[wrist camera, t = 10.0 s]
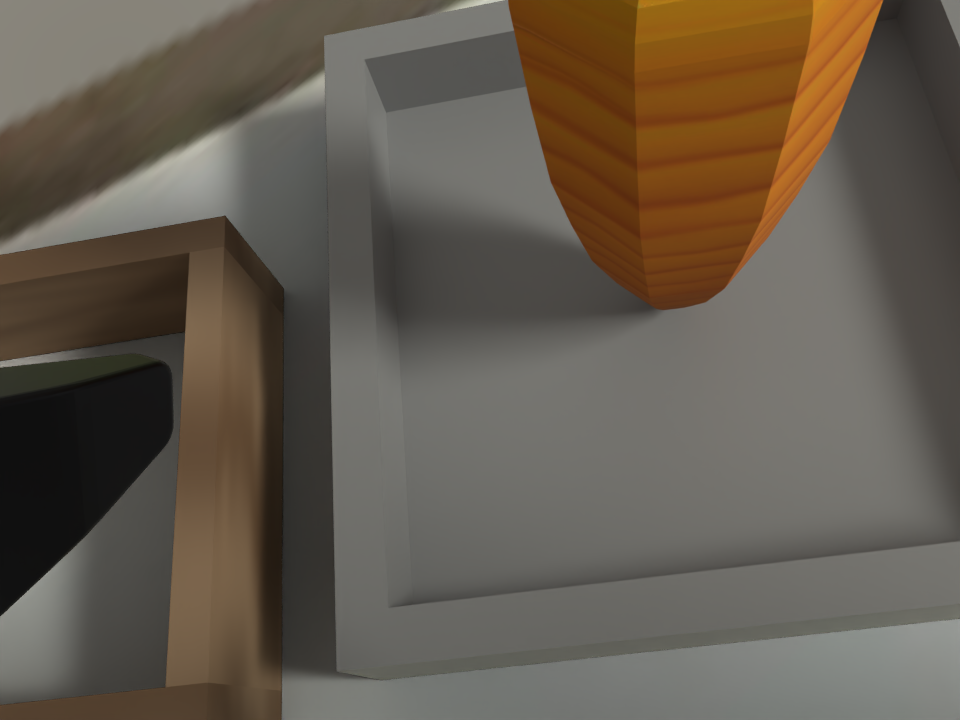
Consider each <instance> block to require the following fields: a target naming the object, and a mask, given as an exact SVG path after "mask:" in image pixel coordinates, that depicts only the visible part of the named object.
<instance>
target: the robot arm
mask: <svg viewBox="0 0 960 720" xmlns="http://www.w3.org/2000/svg"><path fill="white" fill-rule="evenodd" d="M173 423H174V420H173V385H172V373H171V370H170V368H169V366H168V365H167V364H166V363H165V362H163V361H160V360H157V359H154V358H151V357H147V356H144V355H141V354H125V355H115V356H106V357H97V358H87V359H78V360H68V361H59V362H50V363H40V364H31V365H21V366H12V367H3V368H0V616H1V615H2V614H4V613H5V612H6V611H7V610H8V609H9V608H10V607H11V606H12V605H13V604H14V603H15V602H16V601H17V600H18V599H20V598H21V597H22V596H23V595H24V594H25V593H26V592H27V591H28V590H29V589H30V588H31V587H32V586H33V585H35V584H36V583H37V582H38V581H39V580H40V579H41V578H42V577H43V576H44V575H45V574H46V573H47V572H48V571H49V570H51V569H52V568H53V567H54V566H55V565H56V564H57V563H58V562H59V561H60V560H61V559H62V558H63V557H64V556H65V555H67V554H68V553H69V552H70V551H71V550H72V549H73V548H74V547H75V546H76V545H77V544H78V543H79V542H80V541H81V540H82V539H83V538H84V537H85V536H86V535H87V534H88V533H89V532H90V531H91V530H92V529H93V527H94V526H95V525H96V524H97V523H98V522H99V521H100V520H101V519H102V518H103V516H104V515H105V514H106V513H107V512H108V511H109V510H110V508H111V507H112V506H113V505H114V504H115V503H116V502H117V500H118V499H119V498H120V497H121V496H122V495H123V494H124V493H125V491H126V490H127V489H128V488H129V487H130V486H131V485H132V483H133V482H134V481H135V480H136V479H137V478H138V477H139V475H140V474H141V473H142V472H143V471H144V470H145V469H146V468H147V466H148V465H149V464H150V463H151V462H152V461H153V460H154V458H155V457H156V456H157V455H158V454H159V453H160V452H161V450H162V449H163V448H164V447H165V446H166V444H167V443H168V441H169V439H170V437H171V434H172V431H173Z"/></svg>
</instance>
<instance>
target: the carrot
mask: <svg viewBox="0 0 960 720" xmlns="http://www.w3.org/2000/svg"><path fill="white" fill-rule="evenodd" d="M882 2H883V0H508V6H509V10H510V15H511V19H512V24H513V29H514V33H515V38H516V42H517V47H518V51H519V56H520V60H521V65H522V69H523V74H524V79H525V83H526V88H527V92H528V97H529V101H530V106H531V110H532V114H533V117H534V121H535V125H536V129H537V132H538V136H539V140H540V144H541V147H542V151H543V155H544V159H545V162H546V166H547V170H548V174H549V177H550V181H551V184H552V186H553V188H554V190H555V192H556V194H557V196H558V198H559V200H560V202H561V205H562V207H563V209H564V211H565V213H566V215H567V217H568V219H569V221H570V223H571V225H572V227H573V229H574V231H575V232H576V234H577V236H578V238H579V239H580V241H581V243H582V244H583V246H584V248H585V250H586V251H587V253H588V255H589V256H590V258H591V260H592V261H593V262H594V263H595V264H596V265H597V266H598V267H599V268H600V269H602V270H603V271H604V272H605V273H606V274H607V275H608V276H609V277H610V278H612V279H613V280H614V281H615V282H616V283H617V284H619V285H620V286H622V287H623V288H625V289H626V290H628V291H629V292H631V293H632V294H634V295H635V296H637V297H639V298H640V299H642V300H643V301H645V302H646V303H648V304H649V305H651V306H652V307H654V308H655V309H659V310H670V309H678V308H685V307H690V306H694V305H698V304H702V303H706V302H707V301H708V300H710V299H711V298H713V297H714V296H715V295H717V294H718V293H719V292H721V291H722V290H724V289H725V288H726V286H727V285H728V284H729V283H730V282H731V281H732V279H733V278H734V277H735V276H736V275H737V273H738V272H739V271H740V270H741V269H742V268H743V266H744V265H745V264H746V263H747V262H748V260H749V259H750V258H751V257H752V256H753V255H754V253H755V252H756V251H757V250H758V249H759V247H760V246H761V245H762V244H763V243H764V242H765V240H766V239H767V238H768V237H769V235H770V234H771V232H772V231H773V230H774V228H775V227H776V225H777V224H778V222H779V221H780V219H781V218H782V216H783V215H784V214H785V212H786V211H787V209H788V208H789V206H790V205H791V203H792V202H793V200H794V199H795V198H796V196H797V195H798V193H799V191H800V190H801V188H802V186H803V185H804V183H805V181H806V180H807V178H808V176H809V175H810V173H811V171H812V170H813V168H814V166H815V165H816V163H817V161H818V159H819V158H820V156H821V154H822V153H823V151H824V149H825V148H826V146H827V144H828V143H829V141H830V139H831V136H832V134H833V131H834V129H835V126H836V124H837V121H838V119H839V116H840V114H841V111H842V109H843V106H844V104H845V101H846V99H847V96H848V93H849V91H850V88H851V86H852V83H853V81H854V78H855V76H856V73H857V71H858V68H859V66H860V63H861V61H862V58H863V56H864V53H865V50H866V48H867V45H868V42H869V39H870V36H871V33H872V30H873V28H874V25H875V22H876V19H877V16H878V13H879V11H880V8H881V5H882Z"/></svg>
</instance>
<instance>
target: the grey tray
mask: <svg viewBox="0 0 960 720" xmlns="http://www.w3.org/2000/svg"><path fill="white" fill-rule="evenodd" d="M324 50H325V102H326V153H327V205H328V256H329V308H330V360H331V411H332V463H333V515H334V566H335V618H336V670H337V672H343V673H348V674H353V675H358V676H363V677H368V678H373V679H378V680H387V679H397V678H406V677H416V676H425V675H434V674H444V673H453V672H463V671H472V670H481V669H491V668H500V667H510V666H519V665H528V664H538V663H547V662H557V661H566V660H575V659H585V658H594V657H604V656H613V655H622V654H632V653H641V652H651V651H660V650H669V649H679V648H688V647H698V646H707V645H716V644H726V643H735V642H745V641H754V640H763V639H773V638H782V637H792V636H801V635H810V634H820V633H829V632H839V631H848V630H857V629H867V628H876V627H886V626H895V625H905V624H914V623H923V622H933V621H942V620H952V619H960V0H883V2H882V5H881V8H880V11H879V13H878V16H877V19H876V22H875V25H874V28H873V30H872V33H871V36H870V39H869V42H868V45H867V48H866V50H865V53H864V56H863V58H862V61H861V63H860V66H859V68H858V71H857V73H856V76H855V78H854V81H853V83H852V86H851V88H850V91H849V93H848V96H847V99H846V101H845V104H844V106H843V109H842V111H841V114H840V116H839V119H838V121H837V124H836V126H835V129H834V131H833V134H832V136H831V139H830V141H829V143H828V144H827V146H826V148H825V149H824V151H823V153H822V154H821V156H820V158H819V159H818V161H817V163H816V165H815V166H814V168H813V170H812V171H811V173H810V175H809V176H808V178H807V180H806V181H805V183H804V185H803V186H802V188H801V190H800V191H799V193H798V195H797V196H796V198H795V199H794V200H793V202H792V203H791V205H790V206H789V208H788V209H787V211H786V212H785V214H784V215H783V216H782V218H781V219H780V221H779V222H778V224H777V225H776V227H775V228H774V230H773V231H772V232H771V234H770V235H769V237H768V238H767V239H766V240H765V242H764V243H763V244H762V245H761V246H760V247H759V249H758V250H757V251H756V252H755V253H754V255H753V256H752V257H751V258H750V259H749V260H748V262H747V263H746V264H745V265H744V266H743V268H742V269H741V270H740V271H739V272H738V273H737V275H736V276H735V277H734V278H733V279H732V281H731V282H730V283H729V284H728V285H727V286H726V288H725V289H724V290H722V291H721V292H719V293H718V294H717V295H715V296H714V297H713V298H711V299H710V300H708V301H707V302H706V303H702V304H698V305H694V306H690V307H685V308H678V309H670V310H659V309H655V308H654V307H652V306H651V305H649V304H648V303H646V302H645V301H643V300H642V299H640V298H639V297H637V296H635V295H634V294H632V293H631V292H629V291H628V290H626V289H625V288H623V287H622V286H620V285H619V284H617V283H616V282H615V281H614V280H613V279H612V278H610V277H609V276H608V275H607V274H606V273H605V272H604V271H603V270H602V269H600V268H599V267H598V266H597V265H596V264H595V263H594V262H593V261H592V260H591V258H590V256H589V255H588V253H587V251H586V250H585V248H584V246H583V244H582V243H581V241H580V239H579V238H578V236H577V234H576V232H575V231H574V229H573V227H572V225H571V223H570V221H569V219H568V217H567V215H566V213H565V211H564V209H563V207H562V205H561V202H560V200H559V198H558V196H557V194H556V192H555V190H554V188H553V186H552V184H551V181H550V177H549V174H548V170H547V166H546V162H545V159H544V155H543V151H542V147H541V144H540V140H539V136H538V132H537V129H536V125H535V121H534V117H533V114H532V110H531V106H530V101H529V97H528V92H527V88H526V83H525V79H524V74H523V69H522V65H521V60H520V56H519V51H518V47H517V42H516V38H515V33H514V29H513V24H512V19H511V15H510V10H509V6H508V0H505V1H499V2H494V3H489V4H484V5H479V6H474V7H469V8H464V9H459V10H454V11H449V12H444V13H439V14H434V15H428V16H423V17H418V18H413V19H408V20H403V21H398V22H393V23H388V24H383V25H378V26H373V27H368V28H363V29H357V30H352V31H347V32H342V33H337V34H332V35H327V36H324Z"/></svg>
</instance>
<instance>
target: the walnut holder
mask: <svg viewBox="0 0 960 720" xmlns="http://www.w3.org/2000/svg"><path fill="white" fill-rule="evenodd" d="M283 303H284V288H283V287H282V286H281V285H280V283H279V282H278V281H277V280H276V278H275V277H274V276H273V275H272V273H271V272H270V271H269V270H268V268H267V267H266V266H265V265H264V263H263V262H262V261H261V260H260V258H259V257H258V256H257V255H256V253H255V252H254V251H253V250H252V248H251V247H250V246H249V245H248V243H247V242H246V241H245V240H244V238H243V237H242V236H241V235H240V233H239V232H238V231H237V230H236V228H235V227H234V226H233V225H232V223H231V222H230V221H229V220H228V218H227V217H226V216H221V217H215V218H210V219H204V220H198V221H192V222H187V223H181V224H175V225H170V226H164V227H158V228H152V229H147V230H141V231H135V232H129V233H124V234H118V235H112V236H107V237H101V238H95V239H89V240H84V241H78V242H72V243H66V244H61V245H55V246H49V247H44V248H38V249H32V250H26V251H21V252H15V253H9V254H3V255H0V361H3V360H9V359H15V358H22V357H28V356H34V355H40V354H47V353H53V352H59V351H66V350H72V349H78V348H84V347H91V346H97V345H103V344H110V343H116V342H122V341H128V340H135V339H141V338H147V337H154V336H160V335H166V334H172V333H179V332H185V346H184V364H183V382H182V399H181V417H180V435H179V453H178V471H177V489H176V507H175V525H174V543H173V561H172V578H171V596H170V614H169V632H168V650H167V668H166V686H165V687H162V688H153V689H144V690H135V691H125V692H116V693H107V694H98V695H89V696H79V697H70V698H61V699H52V700H43V701H33V702H24V703H15V704H6V705H0V720H281V714H282V509H283Z"/></svg>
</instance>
